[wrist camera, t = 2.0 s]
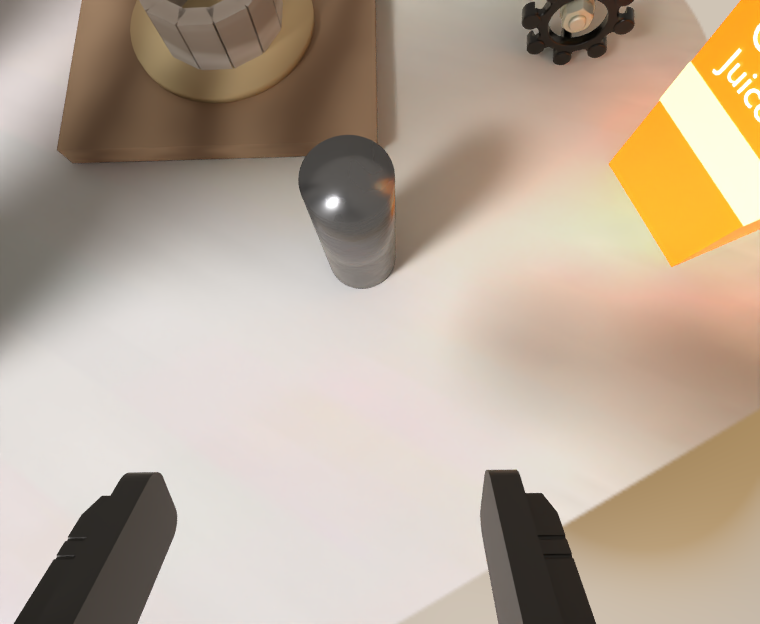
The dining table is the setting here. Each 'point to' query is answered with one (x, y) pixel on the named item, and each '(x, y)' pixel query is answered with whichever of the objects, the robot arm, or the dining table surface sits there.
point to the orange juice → (702, 146)
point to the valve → (574, 27)
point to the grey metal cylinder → (352, 207)
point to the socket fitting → (218, 78)
